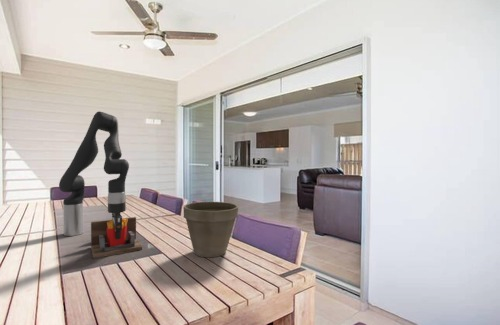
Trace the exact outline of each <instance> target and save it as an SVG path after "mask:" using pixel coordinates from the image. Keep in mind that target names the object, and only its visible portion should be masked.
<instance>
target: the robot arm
mask: <svg viewBox="0 0 500 325" xmlns="http://www.w3.org/2000/svg"><path fill="white" fill-rule="evenodd" d="M99 130H100V131H103V132H107V133H108V134H109V135H108V137H107V138H106V139H105V141H104V142H103V150H104V155H105V159H104V163H103V171H104V173H106V174H107V175H118V177H117V178H113V179H110V180H109V181H108V183H107V186H108V187H107V189H108V190H107V192H108V193H107V212H108V213H109V214H111V220H113V225H114V227H115V239H120V238H121V230H122V218H123V216H122V214H121V213H124V212H126V210H127V209H126V206H127V205H126V198H127V197H126V186H125V185H126V179H127V176H128V172H129V168H130V162H128V161H127V160H126V158H125V159H124V158H122V150H121V145H120V142H119V121H118V118H117V117H116V116H115V115H112V114H109V113H106V112H104V111H99V110H98V111H97V112H95V114H94V115H93V117H92V120H91V122H90V123H89V127H88V128H87V131H86V133H85V135H84V137H83V140H82V141H81V143H80V145H79V147H78V149H77V151H76V152H75V155H74V157H73V159H72V161H71V163H70V165H69V166H68V167H67V169H66V170H65V172H64V173H63V174H62V175H61V176H62V177H61V178H60V180H59V182H58V187H59V190H60V191H61V192H62V193H71V194H70V195H69V196H68V197H66V198H64V199H63V201H62V202H63V206H62V207H63V208H62V209H63V236H64V237H71V236H72V237H74V236H78V235H81V234H84V205H83V204H84V203H83V202H84V198H85V184H86V182H85V179H84V177H83V176H82V175H80V174H81V172H83V171H84V170H86V169H87V168H88V167H89V166H91V165H92V164H93V163H94V162H95V160H96V158H97V157H98V156H97V155H98V153H99V146H98V142H97V136H96V135H97V132H99ZM121 158H122V159H121ZM117 226H120V228H117Z"/></svg>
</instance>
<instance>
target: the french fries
mask: <svg viewBox="0 0 500 325" xmlns="http://www.w3.org/2000/svg"><path fill="white" fill-rule="evenodd" d="M124 218H125V217H122V230H121V238H120V239H115V227H114V225H113V220H112V219H109V220H110V221H109V222H107V225H108V228H106V229H107V237H108V246H109V247H111V246H117V245H123V244H126V233H127V222H128V220H127V219H124ZM111 220H112V221H111ZM109 223H110V224H109ZM117 228H120V226H117Z"/></svg>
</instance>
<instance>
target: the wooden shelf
mask: <svg viewBox="0 0 500 325" xmlns="http://www.w3.org/2000/svg"><path fill="white" fill-rule="evenodd" d="M123 218H124V219H127V220H128V222H127V233H126V244H123V245H117V246H111V247H109V246H108V237H107V229H106V228H108V225H107V222H109V221H110V220H111V221H112V219H105V220H96V221H95V220H94V221H90V248H91V249H90V250H91V253H92V258H93V259H96V258H97V259H98V258H104V257H107V256H108V257H109V256H113V255H114V256H115V255H119V254H126V253H131V252H136V251H142V250H143V245H142V244H141V243H140V241H139V240H138V239H137V217H136V216H132V217H131V216H130V217H123ZM109 224H110V223H109Z"/></svg>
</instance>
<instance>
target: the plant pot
mask: <svg viewBox="0 0 500 325" xmlns="http://www.w3.org/2000/svg"><path fill="white" fill-rule="evenodd" d="M182 210H183V217H184V219H185V221H186V226H187V228H188V229H187V230H188V234H189V237H190V242H191V246H192V249H193V252H194V254H195V255H196V256H198V257H200V258H201V257H202V258H217V257H219V256H223V255H225V253H226V252H227V249H228V246H229V242H230V240H231V235H232V232H233V229H234V226H235V221H236V219H237V218H238V214H239V213H238V212H239V205H237V204H236V203H232V202H224V201H198V202H190V203H187V204H184V205H183V209H182Z"/></svg>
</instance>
